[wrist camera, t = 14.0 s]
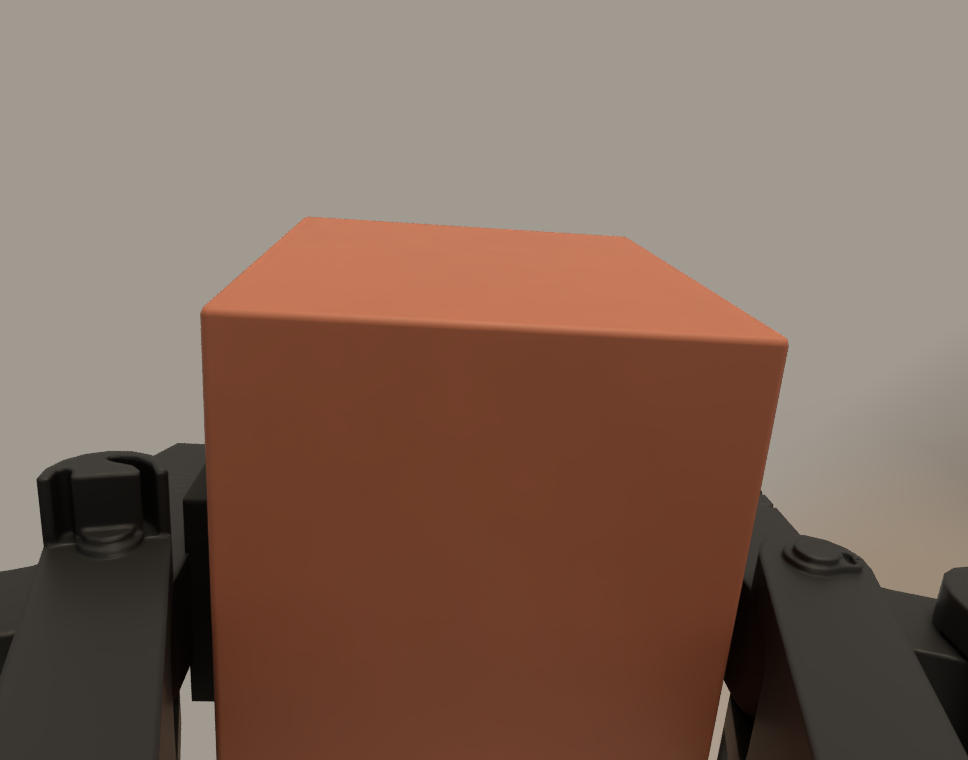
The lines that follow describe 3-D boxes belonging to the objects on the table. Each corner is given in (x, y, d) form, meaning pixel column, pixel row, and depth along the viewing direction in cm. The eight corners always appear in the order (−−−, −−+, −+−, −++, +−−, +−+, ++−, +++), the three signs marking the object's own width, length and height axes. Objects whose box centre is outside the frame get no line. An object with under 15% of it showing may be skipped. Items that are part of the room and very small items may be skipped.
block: (228, 1130, 10) (197, 306, 7) (301, 752, 15) (303, 215, 12) (641, 1117, 10) (793, 339, 7) (562, 754, 16) (628, 236, 13)
